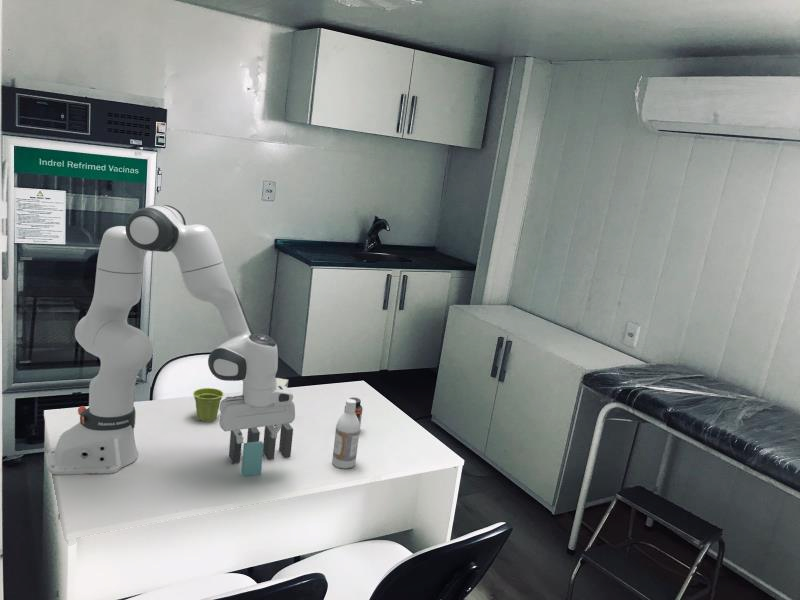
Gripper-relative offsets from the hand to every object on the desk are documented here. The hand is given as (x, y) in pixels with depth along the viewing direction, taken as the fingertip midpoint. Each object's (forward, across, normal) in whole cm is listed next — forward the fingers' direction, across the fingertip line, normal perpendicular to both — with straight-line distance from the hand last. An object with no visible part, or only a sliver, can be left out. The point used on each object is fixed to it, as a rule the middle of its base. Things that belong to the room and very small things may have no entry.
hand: (256, 440), depth 173 cm
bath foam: (+11, +26, -2) cm, 29 cm away
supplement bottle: (+12, +38, +18) cm, 43 cm away
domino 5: (+10, +11, +8) cm, 18 cm away
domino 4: (+10, +6, +8) cm, 15 cm away
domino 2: (+10, +2, +8) cm, 13 cm away
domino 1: (+10, -4, +9) cm, 14 cm away
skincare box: (+11, +18, +35) cm, 41 cm away
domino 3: (+10, -1, 0) cm, 10 cm away
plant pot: (+10, -5, +38) cm, 39 cm away
